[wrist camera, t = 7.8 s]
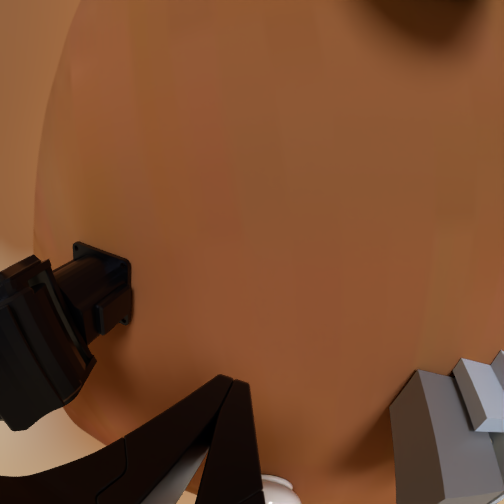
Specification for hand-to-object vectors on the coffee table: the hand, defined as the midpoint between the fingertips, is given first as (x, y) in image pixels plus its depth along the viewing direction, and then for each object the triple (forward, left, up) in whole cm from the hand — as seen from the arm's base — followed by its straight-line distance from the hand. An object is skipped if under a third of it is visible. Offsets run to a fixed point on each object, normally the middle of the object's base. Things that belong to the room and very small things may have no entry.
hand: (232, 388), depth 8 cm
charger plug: (+16, -10, -13) cm, 22 cm away
